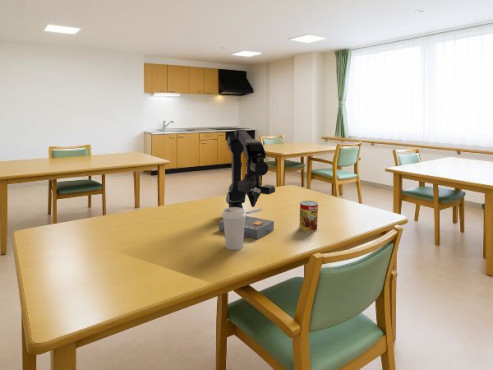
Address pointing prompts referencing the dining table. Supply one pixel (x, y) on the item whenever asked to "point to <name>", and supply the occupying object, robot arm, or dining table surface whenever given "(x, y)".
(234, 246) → the coffee cup
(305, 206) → the canned food
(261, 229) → the silver metal tray
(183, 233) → the dining table surface
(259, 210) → the steel strap
